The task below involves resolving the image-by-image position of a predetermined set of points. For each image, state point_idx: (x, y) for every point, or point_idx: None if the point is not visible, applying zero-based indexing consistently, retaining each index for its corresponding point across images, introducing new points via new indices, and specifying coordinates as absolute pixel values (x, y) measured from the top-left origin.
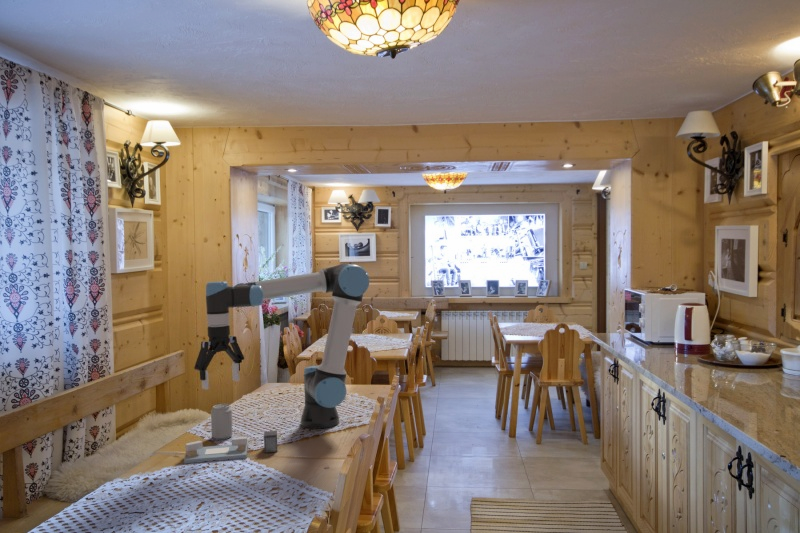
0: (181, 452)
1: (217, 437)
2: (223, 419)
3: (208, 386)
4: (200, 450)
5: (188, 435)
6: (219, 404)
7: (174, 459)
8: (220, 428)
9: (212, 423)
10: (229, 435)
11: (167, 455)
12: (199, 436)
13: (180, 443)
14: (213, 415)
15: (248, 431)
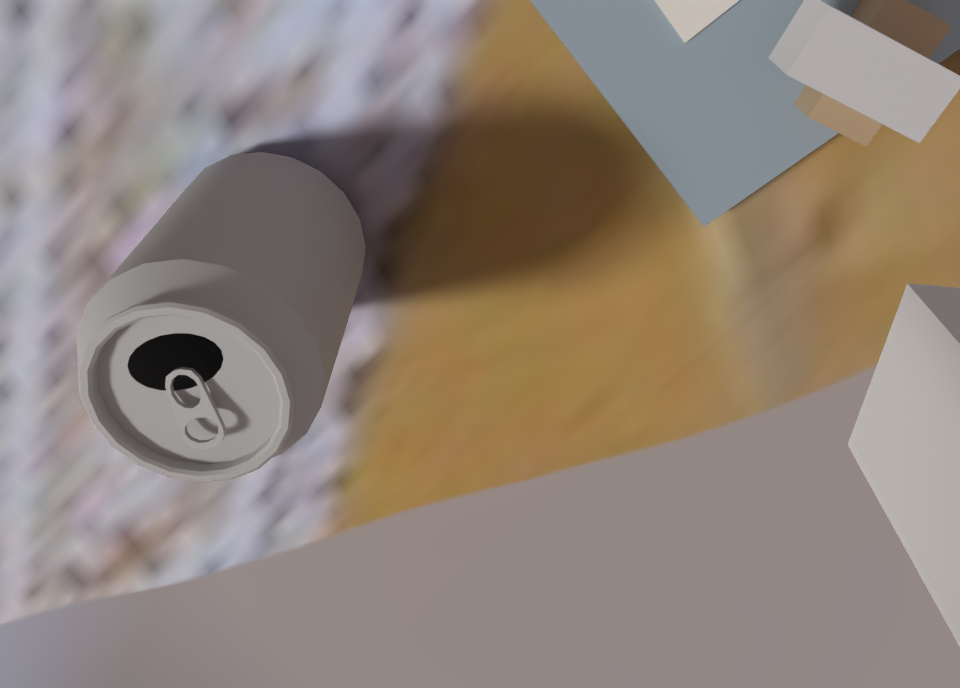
0: (734, 257)
1: (356, 219)
2: (278, 243)
3: (953, 318)
4: (725, 77)
5: (387, 497)
6: (151, 463)
7: (904, 177)
8: (324, 227)
9: (342, 334)
10: (258, 154)
11: (830, 302)
12: (361, 414)
13: (558, 419)
14: (329, 362)
15: (11, 134)
